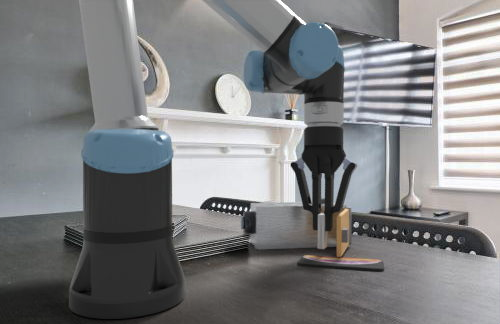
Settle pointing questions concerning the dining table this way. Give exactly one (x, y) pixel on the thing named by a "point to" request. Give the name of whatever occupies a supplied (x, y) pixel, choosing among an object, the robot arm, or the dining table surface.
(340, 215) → the side door
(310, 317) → the dining table surface
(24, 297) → the dining table surface
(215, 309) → the dining table surface
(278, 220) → the silver box with door
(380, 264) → the smartphone
